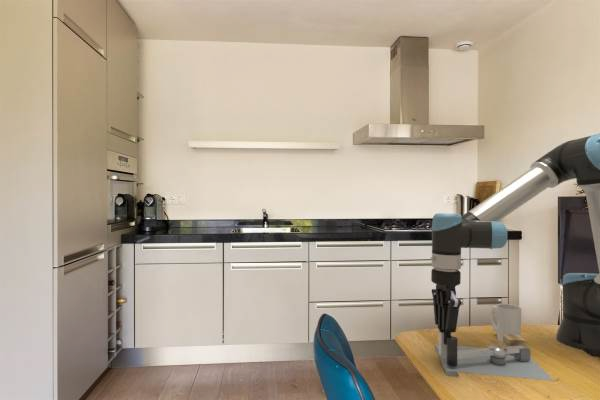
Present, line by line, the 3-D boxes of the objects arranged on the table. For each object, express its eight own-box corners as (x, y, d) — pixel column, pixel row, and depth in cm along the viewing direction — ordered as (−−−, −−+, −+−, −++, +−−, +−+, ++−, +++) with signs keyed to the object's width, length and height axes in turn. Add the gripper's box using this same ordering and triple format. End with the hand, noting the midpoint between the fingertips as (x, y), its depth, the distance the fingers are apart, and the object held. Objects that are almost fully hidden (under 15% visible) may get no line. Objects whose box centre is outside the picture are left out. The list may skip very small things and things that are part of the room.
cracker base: (524, 355, 108) (524, 345, 108) (554, 385, 90) (554, 373, 90) (435, 347, 113) (435, 337, 113) (446, 375, 95) (446, 363, 95)
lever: (520, 355, 104) (520, 329, 104) (533, 361, 99) (533, 334, 100) (442, 362, 98) (442, 335, 98) (452, 370, 94) (452, 341, 94)
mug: (526, 347, 114) (526, 308, 114) (510, 349, 112) (510, 310, 112) (498, 336, 123) (498, 300, 124) (483, 338, 121) (483, 302, 121)
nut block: (518, 350, 108) (518, 334, 108) (526, 356, 104) (526, 340, 104) (502, 349, 109) (502, 334, 109) (509, 355, 105) (509, 339, 105)
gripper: (423, 264, 107) (422, 345, 107) (443, 273, 94) (441, 365, 94) (448, 265, 108) (446, 345, 108) (471, 273, 95) (470, 364, 95)
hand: (444, 354), depth 101 cm, fingers closed
